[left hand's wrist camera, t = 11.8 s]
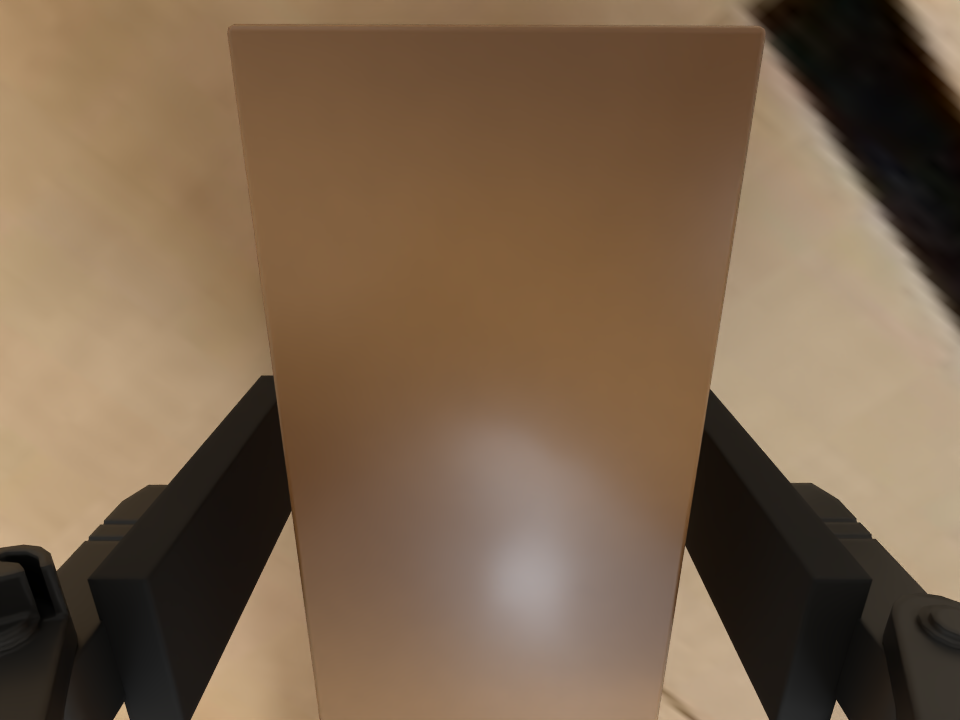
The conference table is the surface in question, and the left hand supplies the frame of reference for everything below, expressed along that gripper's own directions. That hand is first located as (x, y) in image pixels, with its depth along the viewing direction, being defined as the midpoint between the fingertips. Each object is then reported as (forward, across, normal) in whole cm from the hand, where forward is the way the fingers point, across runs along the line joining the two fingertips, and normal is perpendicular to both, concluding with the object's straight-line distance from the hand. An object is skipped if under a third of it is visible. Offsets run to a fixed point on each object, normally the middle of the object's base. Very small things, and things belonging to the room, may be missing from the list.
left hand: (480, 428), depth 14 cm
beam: (+2, 0, -22) cm, 22 cm away
